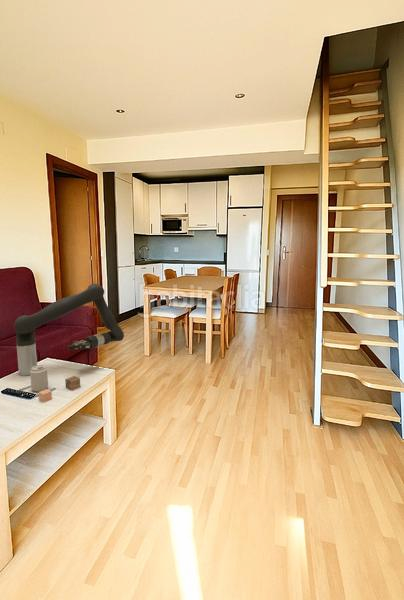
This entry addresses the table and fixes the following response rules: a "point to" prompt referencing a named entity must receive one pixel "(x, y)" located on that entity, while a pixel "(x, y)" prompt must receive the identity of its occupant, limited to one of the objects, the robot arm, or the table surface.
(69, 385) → the walnut block
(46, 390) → the clay block
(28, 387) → the frame
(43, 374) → the can
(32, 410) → the table surface
